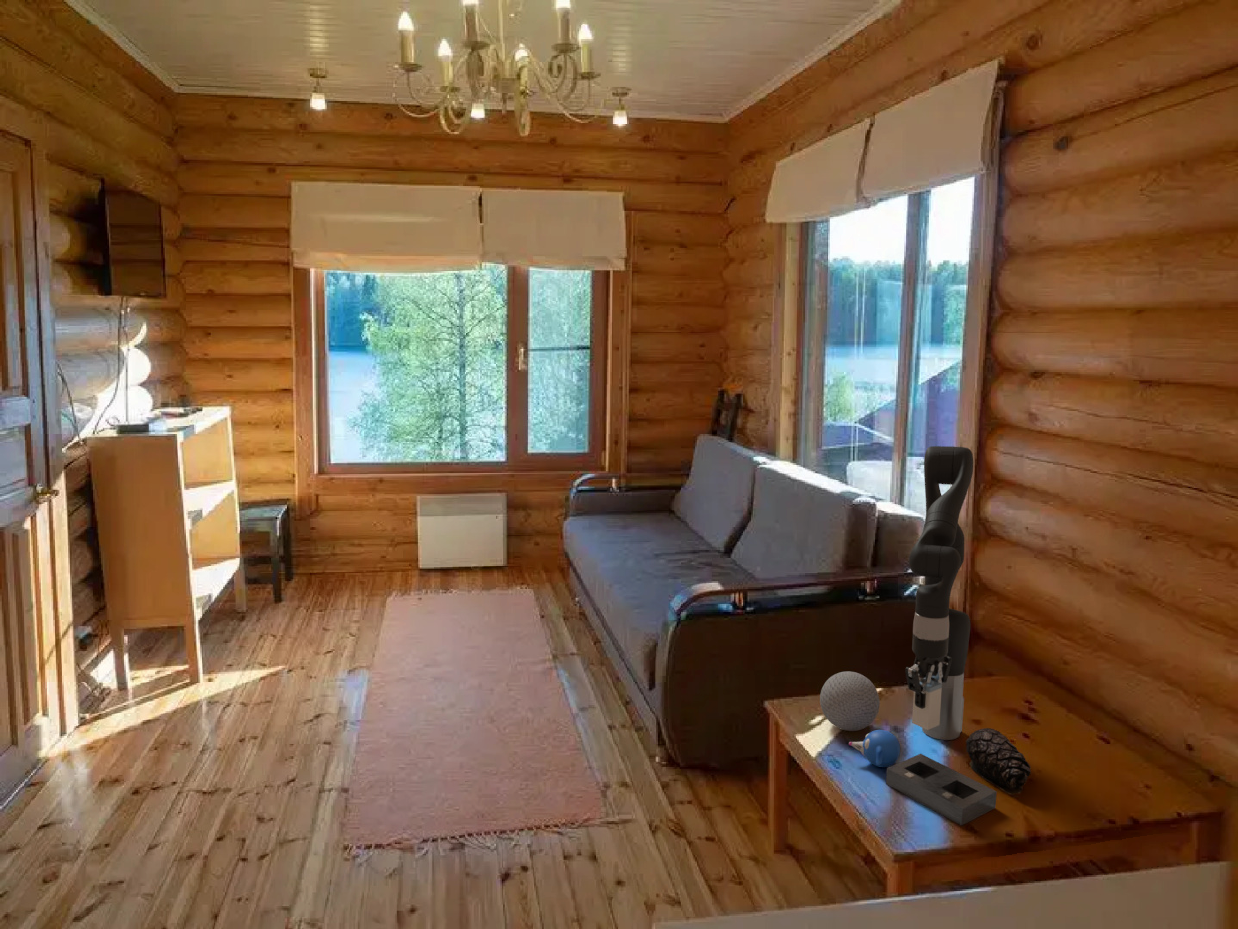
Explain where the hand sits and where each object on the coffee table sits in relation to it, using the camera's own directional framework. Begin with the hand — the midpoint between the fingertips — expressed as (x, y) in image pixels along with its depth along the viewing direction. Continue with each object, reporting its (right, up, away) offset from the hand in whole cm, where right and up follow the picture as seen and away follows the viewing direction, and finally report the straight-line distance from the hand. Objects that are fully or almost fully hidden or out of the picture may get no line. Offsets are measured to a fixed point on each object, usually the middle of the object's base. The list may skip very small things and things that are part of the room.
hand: (926, 704), depth 201 cm
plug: (0, -5, +1) cm, 5 cm away
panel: (+3, -21, 0) cm, 21 cm away
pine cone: (+20, -19, +8) cm, 29 cm away
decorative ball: (-10, -15, +32) cm, 36 cm away
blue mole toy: (-8, -18, +14) cm, 24 cm away
